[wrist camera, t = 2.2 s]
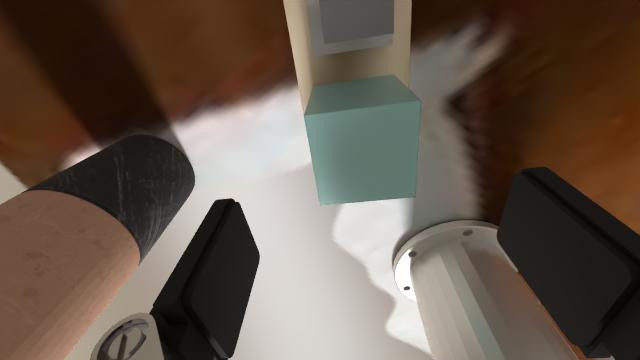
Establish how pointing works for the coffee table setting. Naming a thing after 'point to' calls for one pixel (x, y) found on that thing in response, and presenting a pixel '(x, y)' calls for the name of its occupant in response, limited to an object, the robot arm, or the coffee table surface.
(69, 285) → the travel mug
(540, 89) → the coffee table surface
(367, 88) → the mint green cube
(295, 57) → the board
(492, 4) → the coffee table surface
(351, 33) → the post
